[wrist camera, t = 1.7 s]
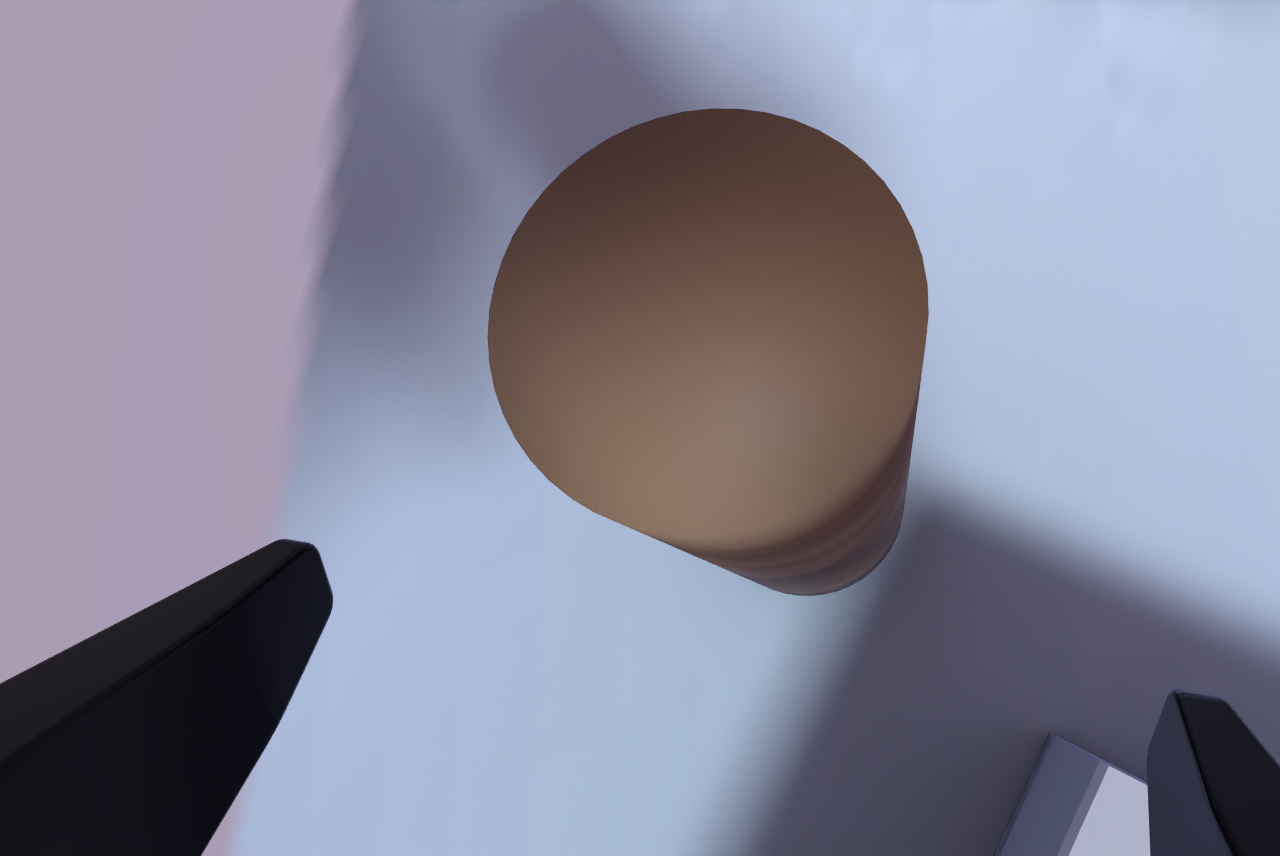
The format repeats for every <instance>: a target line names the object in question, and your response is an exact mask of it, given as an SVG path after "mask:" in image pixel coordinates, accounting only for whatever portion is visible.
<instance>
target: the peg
mask: <svg viewBox="0 0 1280 856" xmlns="http://www.w3.org/2000/svg"><path fill="white" fill-rule="evenodd" d="M928 314H929V313H928V288H927V280H926V275H925V269H924V264H923V258H922V255H921V252H920V249H919V246H918V243H917V240H916V237H915V234H914V231H913V229H912V227H911V225H910V223H909V221H908V219H907V217H906V215H905V213H904V211H903V209H902V207H901V205H900V204H899V202H898V201H897V199H896V198H895V196H894V195H893V194H892V192H891V191H890V189H889V188H888V187H887V185H886V184H885V182H884V181H883V180H882V179H881V178H880V177H879V176H878V175H877V174H876V173H875V172H874V171H873V170H872V169H871V168H870V167H869V166H868V164H867V163H866V162H865V161H863V160H862V159H861V158H860V157H858V156H857V155H856V154H855V153H853V152H852V151H851V150H849V149H848V148H847V147H846V146H844V145H843V144H841V143H840V142H838V141H836V140H835V139H833V138H831V137H829V136H828V135H826V134H824V133H823V132H821V131H819V130H817V129H814V128H812V127H810V126H807V125H805V124H802V123H800V122H798V121H795V120H792V119H788V118H785V117H781V116H777V115H774V114H770V113H765V112H758V111H751V110H743V109H705V110H696V111H687V112H681V113H677V114H673V115H668V116H664V117H660V118H656V119H654V120H651V121H648V122H645V123H642V124H640V125H637V126H634V127H631V128H629V129H627V130H625V131H623V132H621V133H619V134H617V135H615V136H613V137H611V138H609V139H607V140H606V141H604V142H602V143H601V144H599V145H598V146H596V147H595V148H593V149H591V150H590V151H588V152H587V153H585V154H584V155H583V156H581V157H580V158H579V159H578V160H576V161H575V162H574V163H573V164H572V165H570V166H569V167H568V168H567V169H565V170H564V171H563V172H562V173H561V174H560V175H559V176H558V177H557V178H556V179H555V180H554V181H553V182H552V183H551V184H550V185H549V186H548V187H547V188H546V189H545V190H544V192H543V193H542V194H541V195H540V197H539V198H538V199H537V201H536V202H535V203H534V204H533V206H532V207H531V208H530V210H529V211H528V212H527V214H526V215H525V217H524V219H523V220H522V222H521V224H520V225H519V227H518V229H517V230H516V232H515V234H514V235H513V237H512V240H511V242H510V244H509V246H508V248H507V251H506V253H505V255H504V257H503V259H502V262H501V265H500V269H499V272H498V275H497V278H496V281H495V284H494V289H493V294H492V300H491V305H490V310H489V325H488V349H489V364H490V369H491V374H492V379H493V384H494V389H495V392H496V395H497V398H498V401H499V404H500V406H501V409H502V412H503V415H504V417H505V419H506V421H507V423H508V425H509V427H510V429H511V431H512V433H513V435H514V437H515V439H516V440H517V442H518V443H519V444H520V446H521V447H522V449H523V450H524V452H525V453H526V454H527V456H528V457H529V459H530V460H531V461H532V462H533V464H534V465H535V466H536V467H537V468H538V469H539V470H540V471H541V472H542V473H543V474H544V475H545V477H546V478H547V479H548V480H549V481H550V482H552V483H553V484H554V485H555V486H557V487H558V488H559V489H560V490H561V491H563V492H564V493H565V494H566V495H568V496H569V497H570V498H571V499H573V500H575V501H576V502H578V503H580V504H581V505H583V506H585V507H586V508H588V509H590V510H591V511H593V512H595V513H597V514H599V515H602V516H604V517H606V518H608V519H611V520H613V521H615V522H618V523H620V524H622V525H625V526H627V527H629V528H632V529H634V530H636V531H638V532H641V533H643V534H645V535H648V536H650V537H652V538H655V539H657V540H659V541H662V542H664V543H666V544H668V545H671V546H673V547H675V548H678V549H680V550H682V551H685V552H687V553H689V554H692V555H694V556H696V557H698V558H701V559H703V560H705V561H708V562H710V563H712V564H715V565H717V566H719V567H722V568H724V569H726V570H728V571H731V572H733V573H735V574H738V575H740V576H742V577H745V578H747V579H749V580H752V581H754V582H756V583H758V584H761V585H763V586H765V587H768V588H770V589H772V590H775V591H779V592H782V593H786V594H792V595H800V596H813V595H822V594H827V593H831V592H835V591H839V590H841V589H844V588H846V587H849V586H851V585H852V584H854V583H856V582H858V581H859V580H861V579H863V578H864V577H865V576H866V575H868V574H869V573H870V572H872V571H873V570H874V569H875V568H876V567H877V566H878V565H879V564H880V563H881V561H882V560H883V559H884V557H885V556H886V555H887V554H888V552H889V550H890V549H891V547H892V545H893V543H894V542H895V539H896V537H897V534H898V532H899V529H900V525H901V521H902V517H903V510H904V503H905V495H906V487H907V480H908V472H909V465H910V457H911V449H912V442H913V434H914V427H915V419H916V412H917V404H918V396H919V389H920V381H921V374H922V366H923V358H924V351H925V343H926V334H927V324H928Z"/></svg>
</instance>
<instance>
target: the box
mask: <svg viewBox="0 0 1280 856" xmlns="http://www.w3.org/2000/svg"><path fill="white" fill-rule="evenodd" d="M994 856H1150V836H1149V812H1148V788H1147V781H1145V780H1143V779H1141V778H1139V777H1137V776H1135V775H1133V774H1131V773H1129V772H1127V771H1125V770H1123V769H1121V768H1119V767H1117V766H1115V765H1113V764H1111V763H1109V762H1107V761H1105V760H1103V759H1102V758H1100V757H1098V756H1096V755H1094V754H1092V753H1090V752H1088V751H1086V750H1084V749H1082V748H1080V747H1078V746H1076V745H1074V744H1072V743H1070V742H1068V741H1066V740H1064V739H1062V738H1060V737H1058V736H1057V735H1055V734H1053V733H1051V732H1050V734H1049V736H1048V738H1047V741H1046V743H1045V745H1044V747H1043V749H1042V751H1041V754H1040V756H1039V758H1038V760H1037V762H1036V765H1035V767H1034V769H1033V771H1032V773H1031V776H1030V778H1029V780H1028V782H1027V784H1026V787H1025V789H1024V791H1023V793H1022V795H1021V797H1020V800H1019V802H1018V804H1017V806H1016V808H1015V811H1014V813H1013V815H1012V817H1011V819H1010V822H1009V824H1008V826H1007V828H1006V830H1005V833H1004V835H1003V837H1002V839H1001V841H1000V843H999V846H998V848H997V850H996V852H995V854H994Z"/></svg>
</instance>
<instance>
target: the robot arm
mask: <svg viewBox="0 0 1280 856" xmlns="http://www.w3.org/2000/svg"><path fill="white" fill-rule="evenodd" d="M332 606H333V594H332V590H331V587H330V584H329V581H328V578H327V575H326V572H325V568H324V565H323V562H322V559H321V556H320V553H319V551H318V549H317V548H316V547H315V546H314V545H313V544H310V543H307V542H301V541H295V540H289V539H280V540H277V541H275V542H273V543H271V544H269V545H267V546H265V547H263V548H261V549H259V550H257V551H255V552H253V553H251V554H250V555H247V556H246V557H244V558H242V559H240V560H238V561H236V562H234V563H232V564H230V565H228V566H226V567H224V568H222V569H221V570H219V571H217V572H215V573H213V574H211V575H209V576H207V577H205V578H203V579H201V580H199V581H197V582H195V583H193V584H192V585H190V586H188V587H186V588H184V589H182V590H180V591H178V592H176V593H174V594H172V595H170V596H168V597H167V598H165V599H163V600H161V601H159V602H157V603H155V604H153V605H151V606H149V607H147V608H145V609H143V610H141V611H140V612H137V613H136V614H134V615H132V616H130V617H128V618H126V619H124V620H122V621H120V622H118V623H116V624H114V625H113V626H110V627H109V628H107V629H105V630H103V631H101V632H99V633H97V634H95V635H93V636H91V637H89V638H87V639H85V640H84V641H82V642H80V643H78V644H76V645H74V646H72V647H70V648H68V649H66V650H64V651H62V652H61V653H58V654H56V655H54V656H53V657H51V658H49V659H47V660H45V661H43V662H41V663H39V664H37V665H35V666H33V667H32V668H29V669H28V670H26V671H24V672H22V673H20V674H18V675H16V676H14V677H12V678H10V679H8V680H6V681H4V682H2V683H1V684H0V856H201V855H202V853H203V852H204V850H205V848H206V847H207V845H208V843H209V841H210V840H211V838H212V837H213V835H214V833H215V832H216V830H217V828H218V827H219V825H220V823H221V822H222V820H223V818H224V817H225V815H226V813H227V812H228V810H229V808H230V807H231V805H232V803H233V801H234V800H235V798H236V796H237V795H238V793H239V791H240V790H241V788H242V786H243V785H244V783H245V781H246V780H247V778H248V776H249V775H250V773H251V771H252V770H253V768H254V766H255V765H256V763H257V761H258V760H259V758H260V756H261V755H262V753H263V751H264V750H265V748H266V746H267V744H268V743H269V741H270V739H271V737H272V735H273V734H274V732H275V730H276V728H277V726H278V724H279V722H280V720H281V718H282V716H283V715H284V713H285V711H286V709H287V706H288V704H289V702H290V700H291V698H292V696H293V694H294V691H295V689H296V687H297V685H298V683H299V681H300V679H301V676H302V674H303V672H304V670H305V668H306V666H307V664H308V662H309V659H310V657H311V655H312V653H313V651H314V649H315V647H316V644H317V642H318V640H319V638H320V636H321V634H322V632H323V629H324V627H325V625H326V623H327V621H328V619H329V616H330V614H331V610H332ZM1147 788H1148V812H1149V836H1150V856H1280V765H1279V764H1278V762H1277V761H1276V760H1275V759H1274V758H1273V756H1272V755H1271V754H1270V753H1269V751H1268V750H1267V749H1266V748H1265V747H1264V745H1263V744H1262V743H1261V742H1260V740H1259V739H1258V738H1257V737H1256V736H1255V734H1254V733H1253V732H1252V731H1251V729H1250V728H1249V727H1248V726H1247V725H1246V723H1245V722H1244V721H1243V720H1242V718H1241V717H1240V716H1239V715H1238V714H1237V712H1236V711H1235V710H1234V709H1233V707H1232V706H1231V705H1230V704H1229V703H1228V702H1227V701H1226V700H1225V699H1223V698H1222V697H1220V696H1217V695H1212V694H1206V693H1200V692H1194V691H1188V690H1182V689H1178V690H1174V691H1172V692H1171V693H1170V694H1169V696H1168V697H1167V699H1166V702H1165V705H1164V707H1163V710H1162V713H1161V715H1160V718H1159V721H1158V724H1157V726H1156V729H1155V732H1154V734H1153V737H1152V740H1151V743H1150V746H1149V750H1148V757H1147Z"/></svg>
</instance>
